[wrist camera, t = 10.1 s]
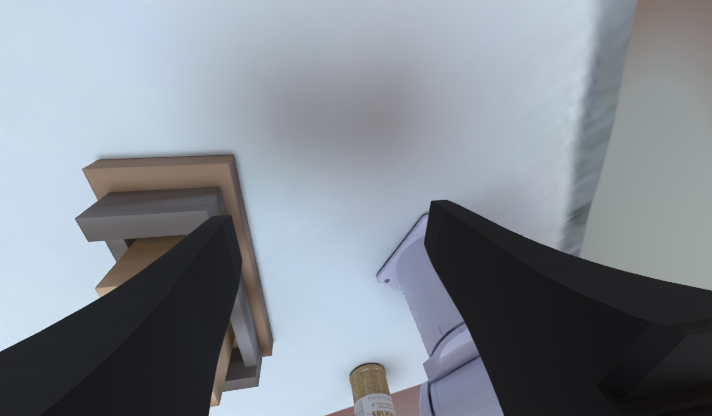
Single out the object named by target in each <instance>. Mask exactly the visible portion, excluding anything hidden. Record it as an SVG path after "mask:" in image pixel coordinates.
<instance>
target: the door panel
mask: <svg viewBox="0 0 712 416" xmlns="http://www.w3.org/2000/svg"><path fill="white" fill-rule="evenodd" d="M187 235H189V234H187ZM187 235H174V236H160V237H147V238H137V239H136V240H135V242H134V243H133V244H132V245H131V246H130V247H129V249H128V250H127V251H126V252H125V253H124V254H123V256H122V257H121V258H120V259H119V260H118V262H117V263H116V264H115V265H114V266H113V267H112V269H111V270H110V271H109V272H108V273H107V275H106V276H105V277H104V278H103V279H102V280H101V282H100V283H99V284H98V285H97V286H96V288H95V290H96V291H97V293H98V294H99V296H100V297H102V296H104V295H105V294H107V293H108V292H110V291H112V290H113V289H115V288H116V287H118V286H120V285H121V284H123V283H124V282H126V281H127V280H129V279H130V278H132V277H133V276H135V275H136V274H138V273H139V272H140V271H142V270H143V269H144V268H146V267H147V266H148V265H150V264H151V263H152V262H154V261H155V260H157V259H158V258H159V257H161V256H162V255H163V254H165V253H166V252H167V251H169V250H170V249H171V248H172V247H174V246H175V245H176V244H177V243H179V242H180V241H181V240H182V239H184V238H185V237H186V236H187ZM234 339H235V333H234V330H233V327H232V323H231V320H229V324H228V327H227V330H226V334H225V337H224V341H223V344H222V348H221V352H220V356H219V360H218V364H217V370H216V375H215V381H214V386H213V391H212V397H211V403H210V407H212V406H218V405H219V404H220V400H221V395H222V391H223V387H224V382H225V378H226V374H227V369H228V365H229V361H230V357H231V352H232V348H233V344H234Z"/></svg>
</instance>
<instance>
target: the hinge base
mask: <svg viewBox="0 0 712 416" xmlns="http://www.w3.org/2000/svg"><path fill="white" fill-rule="evenodd" d="M82 170H83V172H84V174H85V176H86V178H87V180H88V182H89V184H90V186H91V188H92V190H93V192H94V194H95V196H96V198H97V200H98V201H97V202H96V203H94V204H93V205H92V206H91V207H89V208H88V209H87V210H85V211H84V212H83V213H82V214H80V215H79V216H78V217H76V218H75V220H76V222H77V223H78V225H79V227H80V228H81V230H82V232H83V234H84V235H85V237H86V239H87V240H88V242H93V241H105V242H106V244H107V246H108V248H109V249H110V251H111V253H112V255H113V257H114V259H115V260H116V262H118V260H119V259H120V258H121V257H122V256H123V254H124V253H125V252H126V251H127V250H128V249H129V247H130V246H131V245H132V244H133V243H134V242H135V240H136V239H137V238H147V237H160V236H174V235H187V234H190V233H191V232H192V231H194V230H195V229H196V228H197V227H198V226H200V225H201V224H202V223H204V222H205V221H206V220H207V219H209V218H210V217H212V216H221V215H231V216H232V220H233V224H234V228H235V232H236V236H237V240H238V244H239V248H240V252H241V256H242V260H243V262H242V270H241V277H240V284H239V289H238V292H237V296H236V299H235V303H234V306H233V310H232V313H231V317H230V320H231V323H232V327H233V330H234V333H235V339H234V344H233V348H232V352H231V357H230V361H229V365H228V369H227V374H226V378H225V382H224V387H223V391H222V392H225V391H231V390H238V389H245V388H251V387H258V386H259V378H260V370H261V363H262V357H265V356H272V348H273V339H272V334H271V329H270V324H269V320H268V315H267V310H266V306H265V301H264V296H263V292H262V287H261V282H260V278H259V273H258V268H257V264H256V259H255V254H254V250H253V245H252V240H251V236H250V231H249V226H248V222H247V217H246V212H245V208H244V203H243V198H242V194H241V189H240V184H239V180H238V175H237V170H236V165H235V161H234V156H233V155H219V156H192V157H164V158H137V159H110V160H97V161H95V162H94V163H92V164H90V165H88V166H87V167H85V168H83V169H82Z"/></svg>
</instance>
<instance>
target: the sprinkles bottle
mask: <svg viewBox="0 0 712 416" xmlns="http://www.w3.org/2000/svg"><path fill="white" fill-rule="evenodd" d="M350 383H351V386H352V392H353V400H354V411H355V416H396V415H395V411H394V407H393V402H392V399H391V397H390V392H389V388H388V384H387V379H386V372H385V370H384V368H383V367H381V366H380V365H375V364H369V365H364V366H361V367H359V368H357V369H356V370H355V371H354V372H353V373H352V374H351V376H350Z"/></svg>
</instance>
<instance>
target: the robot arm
mask: <svg viewBox="0 0 712 416" xmlns="http://www.w3.org/2000/svg"><path fill="white" fill-rule="evenodd" d="M242 262H243V260H242V256H241V252H240V248H239V244H238V240H237V236H236V232H235V228H234V224H233V220H232V216H231V215H221V216H212V217H210V218H209V219H207V220H206V221H205V222H204V223H202V224H201V225H200V226H198V227H197V228H196V229H195V230H194V231H192V232H191V233H190V234H189V235H187V236H186V237H185V238H184V239H182V240H181V241H180V242H179V243H177V244H176V245H175V246H174V247H172V248H171V249H170V250H169V251H167V252H166V253H165V254H163V255H162V256H161V257H159V258H158V259H157V260H155V261H154V262H152V263H151V264H150V265H148V266H147V267H146V268H144V269H143V270H142V271H140V272H139V273H138V274H136V275H135V276H133V277H132V278H130V279H129V280H127V281H126V282H124V283H123V284H121V285H120V286H118V287H116V288H115V289H113V290H112V291H110V292H108V293H107V294H105V295H104V296H102V297H100V298H99V299H97V300H96V301H94V302H92V303H91V304H89V305H87V306H85V307H83V308H82V309H80V310H78V311H76V312H74V313H73V314H71V315H69V316H67V317H65V318H64V319H62V320H60V321H58V322H56V323H55V324H53V325H51V326H49V327H47V328H46V329H44V330H42V331H40V332H38V333H36V334H34V335H32V336H30V337H28V338H26V339H24V340H23V341H21V342H19V343H17V344H15V345H13V346H11V347H9V348H7V349H5V350H3V351H1V352H0V416H209V409H210V403H211V397H212V391H213V386H214V381H215V375H216V370H217V364H218V360H219V356H220V352H221V348H222V344H223V341H224V337H225V334H226V330H227V327H228V324H229V320H230V317H231V313H232V310H233V306H234V303H235V299H236V296H237V292H238V289H239V284H240V277H241V270H242ZM386 279H387V280H386ZM377 281H378V282H379V283H382V284H385V285H388V286H391V287H394V288H397V289H400V290H403V293H404V295H405V298H406V300H407V303H408V305H409V308H410V310H411V313H412V315H413V318H414V320H415V323H416V325H417V328H418V330H419V333H420V335H421V338H422V340H423V343H424V345H425V348H426V350H427V353H428V355H429V358H430V359H428V360H427V361H426V362H424V363H423V366H424V369H425V372H426V374H427V377H428V381H426V382H424V383H423V385H422V386H421V390H420V402H419V409H420V416H712V291H711V290H706V289H701V288H696V287H691V286H686V285H682V284H677V283H672V282H667V281H662V280H658V279H654V278H650V277H645V276H642V275H638V274H634V273H630V272H625V271H622V270H619V269H615V268H611V267H608V266H604V265H601V264H598V263H595V262H591V261H588V260H585V259H582V258H578V257H575V256H573V255H570V254H567V253H564V252H561V251H558V250H556V249H553V248H550V247H548V246H545V245H543V244H540V243H537V242H535V241H533V240H530V239H528V238H526V237H523V236H521V235H519V234H517V233H515V232H512V231H510V230H508V229H506V228H504V227H502V226H500V225H498V224H496V223H494V222H492V221H490V220H488V219H486V218H484V217H482V216H480V215H478V214H476V213H474V212H472V211H470V210H468V209H466V208H464V207H462V206H460V205H458V204H456V203H453V202H451V201H448V200H435V201H431V205H430V210H429V215H425V216H423V217H422V218H421V220H420V221H419V222H418V224H417V225H416V226H415V227H414V229H413V230H412V231H411V233H410V234H409V235H408V237H407V238H406V239H405V240H404V242H403V243H402V244H401V246H400V247H399V248H398V249H397V251H396V252H395V253H394V255H393V256H392V257H391V258H390V260H389V261H388V262H387V264H386V265H385V266H384V267H383V269H382V270H381V271H380V273H379V274H378V275H377Z"/></svg>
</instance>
